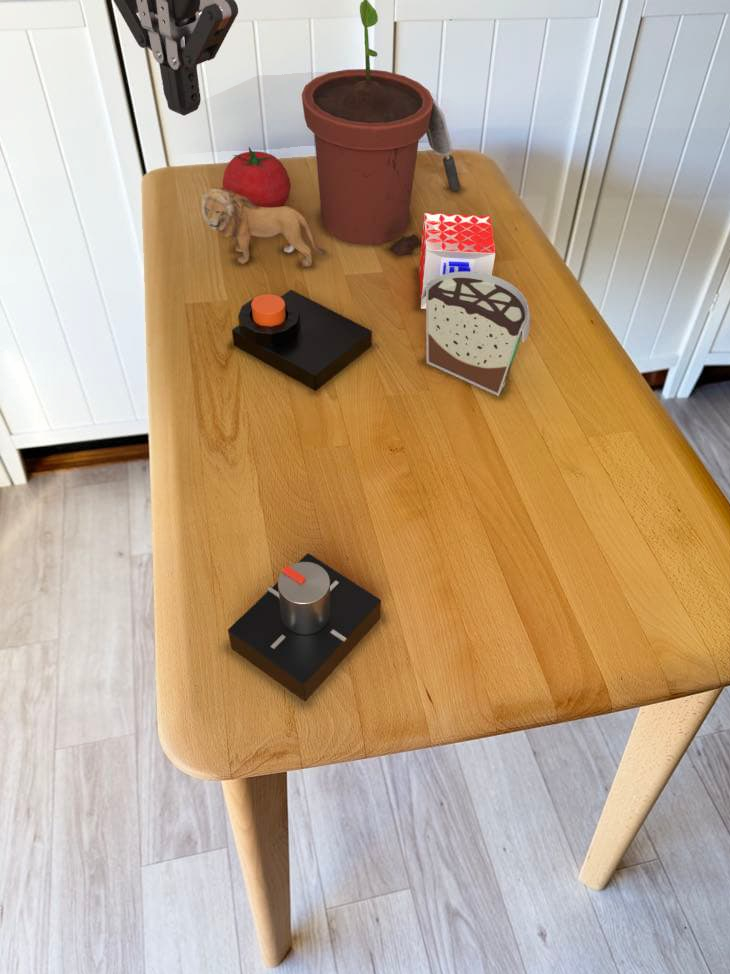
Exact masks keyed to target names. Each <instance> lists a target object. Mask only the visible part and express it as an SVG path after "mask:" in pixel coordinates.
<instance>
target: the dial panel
mask: <svg viewBox="0 0 730 974" xmlns="http://www.w3.org/2000/svg"><path fill="white" fill-rule="evenodd" d="M298 562H311V563H315V564H317V565H319V566H321V567H322V568H323V569H324V570H325V571H326V572H327V574H328V576H329V579H330V619H329V621H328V623H327V625H326V626H325V627H324V628H323V629H321V630H320V631H318V632H316V633H313V634H308V635H302V634H297V633H294V632H292V631H290V630H289V629H288V628H287V627H286V626H285V625H284V623H283V621H282V618H281V609H280V599H279V590H278V581H277V582H276V583H275V584H274V585H273V586H268V587H267V588H266V591H267V592H265V593H264V594H263V595H262V596H261V597H260V598H259V599H258V600H257V601H256V602H255V603H254V604H253V605H252V606H251V607H250V608H249V609H248V610H247V611H246V612H245V613H243V615H241V616H240V617H239V618H238V619H237V620H236V621H235V622H234V623H233V624H232V625H231V626H230V627H229V628H228V629H227V634H228V639H229V643H230V648H231V650H232V651H234V652H235V653H237V654H238V655H239V656H241V657H242V658H243V659H245V660H246V661H248V662H249V663H250V664H252V665H253V666H255V667H256V668H257V669H259V670H260V671H261V672H263V673H264V674H265V675H267V676H268V677H269V678H271V679H273V680H274V681H276V682H277V683H278V684H280V686H282V687H284V688H285V689H287V691H288V692H289V691H290V693H292V694H293V695H295V696H296V697H298V698H299V699H301V701H303V702H307V700H308V699H309V698H310V697H311V696H313V693H315V692H316V690H317V689H318V688H319V687H320V686H321V685H322V684H323V682H325V680H326V679H327V678H328V677H329V676H330V675H331V674H332V673H333V672H334V670H335V669H336V668H337V667H338V666H339V665H340V664H341V663H342V662H343V661H344V660H345V658H346V657H347V656H348V655H349V654H350V653H351V652H352V650H354V649H355V648H356V646H357V645H358V644H359V643H360V642H361V641H362V640H363V639H364V637H366V635H367V634H368V633H369V632H370V631H371V630H372V629H373V627H374V626H375V625H376V624H377V623H378V622H379V621H380V619H381V608H382V599H380V598H379V597H377V596H376V595H374V594H373V593H371V592H370V591H368V590H367V589H365V588H364V587H362V586H360V585H359V584H357V583H356V582H354V581H352V580H351V579H349V578H348V577H346V576H345V575H344V574H342V573H340V572H338V571H337V570H336V569H334V568H332V567H331V566H329V565H328V564H326V563H325V562H323V561H322V560H320V559H318V558H317V557H315V556H314V555H312V554H310V553H309V552H308V553H306V554H305V555H304V556H303V557H302V558H301V559H300V560H299V561H298Z"/></svg>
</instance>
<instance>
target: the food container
mask: <svg viewBox="0 0 730 974" xmlns="http://www.w3.org/2000/svg"><path fill="white" fill-rule="evenodd" d="M425 296H426V309H425V314H426V315H425V319H426V320H425V324H426V325H425V328H426V329H425V331H426V332H425V335H426V336H425V337H426V339H425V340H426V341H425V342H426V343H425V344H426V353H425V354H426V355H425V356H426V364H427V365H430V366H432V367H434V368H436V369H439V370H441V371H442V372H445V373H447V374H449V375H451V376H453V377H456V378H458V379H460V380H463V381H465V382H467V383H468V384H471V385H473V386H476V387H478V388H480V389H482V390H483V391H486V392H488V393H491V394H493V395H496V396H497V397H500V395H501V394H502V393H503V391H504V388H505V385H506V383H507V379H508V377H509V374H510V371H511V368H512V365H513V362H514V359H515V356H516V353H517V350H518V347H519V344H520V341H522V343H525V342H526V340H527V339H528V337H529V334H530V330H531V314H530V307H529V305H528V302H527V299H526V298H525V295H524V294H523V293H522V292H521V290H519V289H518V288H517V287H516V286H515V285H514V284H511V283H510V282H509V281H506V279H503V278H500V277H498V276H495V275H493V274H492V275H489V274H485V273H479V272H468V271H466V272H453V273H448V274H444V275H441V276H438V277H436V278H434V279H432V280H431V281H429V282H428V283H427V285H426V287H424V290H423V293H422V296H421V299H423V298H424V297H425ZM421 299H420V300H421ZM521 338H522V339H521Z"/></svg>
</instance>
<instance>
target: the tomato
mask: <svg viewBox="0 0 730 974" xmlns="http://www.w3.org/2000/svg"><path fill="white" fill-rule="evenodd" d="M224 169H225V170H224V173H223V177H222V188H223V189H227V190H229V191H233V193H235V194H239V195H240V196H243V197H245V198H247V199H249V200H250V201H251V202H252V203H253V204H254V205H256V206H258V207H281V206H286V203H287V201H288V200H289V198H290V194H291V193H290V192H291V187H292V184H291V179H290V175H289V173H288V171H287V169H286V168H285V166H284V164H283V162H282V161H280V160H279V159H278V158H277V157H276V156H274V155H272V154H271V153H269V152H264V151H258V150H257V151H255V150H252V149H251V147H250V146H248V151H245V152H242V153H239V154H233V157H232V159H231V160H230V161H229V162H228V163H227V165H226V167H225V168H224Z"/></svg>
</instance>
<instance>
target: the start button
mask: <svg viewBox="0 0 730 974" xmlns="http://www.w3.org/2000/svg"><path fill="white" fill-rule="evenodd" d="M253 299H254V300H253V301H252V304H251V306H252V316H253V320H254V322H255V323H256V324H258V325H261V326H270V327H271V326H275V325H280V324H281V323H283V322H284V321H285V319H286V313H285V302H284V300H283V299H282V298H281V296H279V295H276V294H274V293H273V294H272V293H265V294H261V295H258V296H256V297H254V298H253Z"/></svg>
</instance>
